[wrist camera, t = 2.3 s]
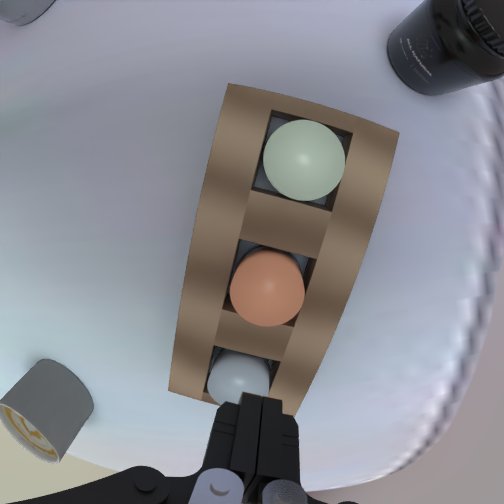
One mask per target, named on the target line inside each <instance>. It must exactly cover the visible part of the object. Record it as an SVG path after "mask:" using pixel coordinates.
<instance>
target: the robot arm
mask: <svg viewBox="0 0 504 504" xmlns="http://www.w3.org/2000/svg"><path fill="white" fill-rule="evenodd" d="M53 2H54V0H0V19H2V20H4V21H6V22H9V23H13V24H16V25H25V24H27V23H30V22H31V21H33V20H35V19H36V18H37V17H38V16H40V15H41V14H42V13H43V12H44V11H45V10H46V9H47V8H48V7H49V6H50V5H51V4H52V3H53ZM282 409H283V402H282V400H280V399H275V398H270V397H266V396H261V395H256V394H252V393H248V392H243V391H242V393H241V396H240V399H239V402H238V404H235V403H231V402H227V401H225V402H224V403H223V404H222V405H221V406H220V407H219V408H218V409H217V412H216V416H215V419H214V423H213V426H212V430H211V433H210V437H209V441H208V445H207V449H206V453H205V457H204V460H203V464H202V467H201V469H200V470H199V471H198V472H196V473H195V474H193V475H190V476H186V477H165V476H164V475H163V474H162V473H161V472H159V471H158V470H156V469H154V468H151V467H148V466H135V467H132V468H129V469H126V470H124V471H121V472H119V473H116V474H113V475H111V476H108V477H105V478H102V479H99V480H97V481H94V482H90V483H87V484H84V485H81V486H78V487H75V488H71V489H68V490H64V491H61V492H57V493H53V494H50V495H46V496H42V497H38V498H33V499H28V500H23V501H18V502H13V503H8V504H241V503H243V504H327V503H324V502H321V501H318V500H316V499H313V498H312V497H310V496H309V495H308V494H307V493H306V492H305V491H304V489H303V488H302V486H301V483H300V461H299V439H298V438H299V430H298V424H297V423H296V421H295V419H294V417H293V415H288V414H283V413H282ZM338 504H358V503H355V502H350V501H345V502H341V503H338Z"/></svg>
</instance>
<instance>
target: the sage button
mask: <svg viewBox="0 0 504 504" xmlns="http://www.w3.org/2000/svg"><path fill="white" fill-rule="evenodd" d="M263 163H264V169H265V172H266V175H267V177H268V179H269V181H270V182H271V184H272V185H273V186H274V187H275V188H276V189H277V190H278V191H279V192H280V193H282V194H283V195H285V196H287V197H289V198H292V199H295V200H302V201H309V200H315V199H318V198H321V197H323V196H325V195H327V194H328V193H330V192H331V191H332V190H333V189H334V188H335V187H336V186H337V185H338V183H339V182H340V180H341V178H342V175H343V172H344V168H345V155H344V150H343V147H342V145H341V143H340V141H339V139H338V138H337V136H336V135H335V134H334V133H333V132H332V131H331V130H330V129H329V128H327V127H326V126H324V125H322V124H320V123H318V122H315V121H310V120H296V121H292V122H289V123H286V124H284V125H282V126H281V127H279V128H278V129H277V130H276V131H275V132H274V133H273V134H272V135H271V137H270V138H269V140H268V142H267V144H266V146H265V149H264V155H263Z"/></svg>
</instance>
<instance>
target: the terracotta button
mask: <svg viewBox="0 0 504 504" xmlns="http://www.w3.org/2000/svg"><path fill="white" fill-rule="evenodd" d="M304 296H305V289H304V284H303V279H302V274H301V269H300V266H299V264H298V262H297V261H296V259H295V258H294V257H293V256H292V255H291V254H290V253H289V252H287V251H284V250H281V249H277V248H273V247H269V246H263V247H258V248H255V249H253V250H251V251H250V252H248V253H247V254H246V255H245V256H244V257H243V258H242V259H241V261H240V262H239V264H238V266H237V269H236V272H235V274H234V277H233V279H232V282H231V286H230V298H231V302H232V304H233V307H234V308H235V310H236V311H237V313H238V314H239V315H240V316H241V317H242V318H244V319H245V320H246V321H248V322H250V323H252V324H255V325H258V326H266V327H269V326H277V325H281V324H283V323H285V322H287V321H289V320H290V319H292V318H293V317H294V316H295V315H296V314H297V313H298V312H299V310H300V308H301V307H302V304H303V301H304Z"/></svg>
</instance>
